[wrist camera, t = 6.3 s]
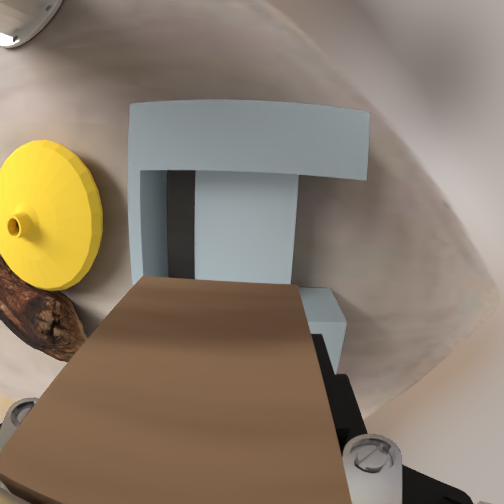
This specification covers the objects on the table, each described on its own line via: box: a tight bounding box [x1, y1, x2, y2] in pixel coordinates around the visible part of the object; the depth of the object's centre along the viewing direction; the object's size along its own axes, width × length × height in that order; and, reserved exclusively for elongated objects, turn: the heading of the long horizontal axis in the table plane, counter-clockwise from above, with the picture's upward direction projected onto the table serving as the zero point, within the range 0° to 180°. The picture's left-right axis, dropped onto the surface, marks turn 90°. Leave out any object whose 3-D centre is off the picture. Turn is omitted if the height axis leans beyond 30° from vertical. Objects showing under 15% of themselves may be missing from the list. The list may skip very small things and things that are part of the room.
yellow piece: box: [0, 140, 103, 291], centre depth 26 cm, size 16×16×7 cm
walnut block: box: [0, 276, 352, 504], centre depth 7 cm, size 5×5×8 cm
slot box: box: [128, 99, 370, 374], centre depth 27 cm, size 25×17×7 cm
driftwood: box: [0, 258, 88, 362], centre depth 29 cm, size 23×8×8 cm, turn 69°
